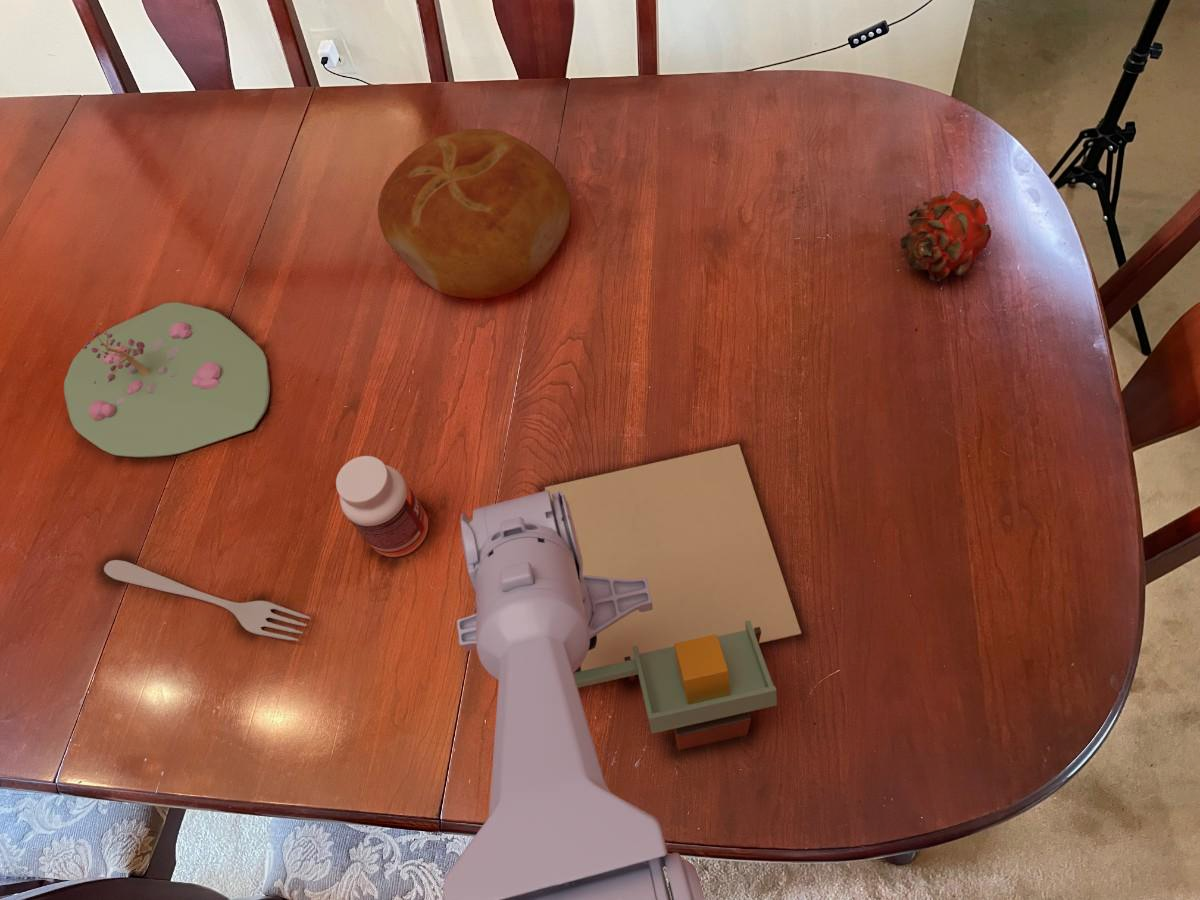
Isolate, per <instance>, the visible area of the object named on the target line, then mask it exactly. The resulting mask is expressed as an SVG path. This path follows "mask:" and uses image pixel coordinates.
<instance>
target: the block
mask: <svg viewBox="0 0 1200 900" xmlns="http://www.w3.org/2000/svg"><path fill="white" fill-rule="evenodd" d="M674 647H675V653H676V659H677V665H678V670H679V674H680V678H681V682H682V685H683V689H684V693H685V697H686V700H687V704H693V703H697V702H701V701H706V700H710V699H715V698H719V697H724V696H728V695H730V685H729V674H728V668H727V665H726V662H725V659H724V656H723V653H722V650H721V646H720V643H719V640H718V637H717V635H716V634H715V635H710V636H706V637H702V638H697V639H693V640H688V641H684V642H679V643H675V644H674Z"/></svg>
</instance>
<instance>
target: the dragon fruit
mask: <svg viewBox="0 0 1200 900" xmlns="http://www.w3.org/2000/svg"><path fill="white" fill-rule="evenodd" d="M922 205H923V206H926V207H927V208H921V209H919V207H920V205H916V206H914V207H913V208H912V209H911V210H910V212H909V213H908V214H907V216H908V217H909V218H908V224H909V226H910V228H911V230H909V232H907V233H906V234H905V235H904V236H902V237H901V238H900V240H899V241H900V248H901V249H902V250H905V249H906V250H907V251H908V252H909V254H908V260H907V263H908V265H909V267H910V268H911V269H916V270H920V271H928V275H929V276H928V280H931V281H933V282H936V283H938V282H940V281H941V280H944V279H945V278H947V276H949V274H950V273H951V271H953V272H954V275H956V276H963V275H965V274H967V272H968V270H969V269H970V268H972V267H973V266H974V264H975V261H976V258H977V256H978V255H979V254H981V253H982V252H983V251H984V249H986V248H987V246H988V244H989V241H990V240H991V237H992V230H991V226H990V224H987V222H988V219H989V218H988V215H987V212H986V209H985V207H984V204H983V202H981V201H980V199H978V198H977V197H976V198H974V199H970V198H969V197H967V196H965V194H961V193H960V192H958V191H956V190H952V191H951V192H950V193H949V195H948V196H947V197H946V195H945V194H941V195H937V196H933V197H932V198H930V199H929V201H923V202H922Z"/></svg>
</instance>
